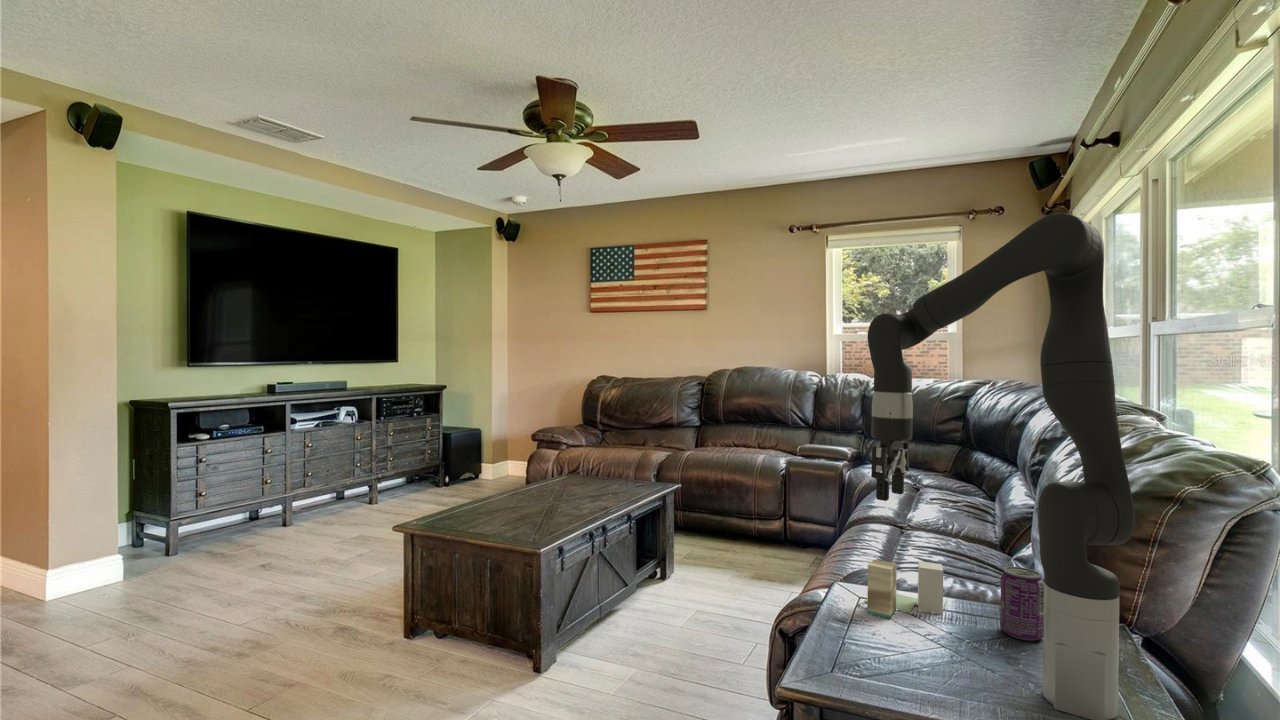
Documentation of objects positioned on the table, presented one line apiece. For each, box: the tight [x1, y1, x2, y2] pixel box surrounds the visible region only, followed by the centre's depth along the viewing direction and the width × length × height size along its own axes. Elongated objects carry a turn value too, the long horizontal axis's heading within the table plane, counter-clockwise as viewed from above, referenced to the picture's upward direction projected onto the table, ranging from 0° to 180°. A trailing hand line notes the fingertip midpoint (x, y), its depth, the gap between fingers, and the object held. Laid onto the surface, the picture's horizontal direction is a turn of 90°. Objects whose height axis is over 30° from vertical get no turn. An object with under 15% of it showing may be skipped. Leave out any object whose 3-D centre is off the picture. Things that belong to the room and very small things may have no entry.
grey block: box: [917, 560, 944, 615], centre depth 128 cm, size 4×4×9 cm
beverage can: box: [999, 566, 1044, 642], centre depth 116 cm, size 7×7×12 cm
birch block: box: [866, 559, 898, 620], centre depth 125 cm, size 4×4×10 cm
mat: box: [863, 593, 918, 613], centre depth 132 cm, size 9×9×1 cm
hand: (890, 496), depth 121 cm, fingers open, 8 cm apart
